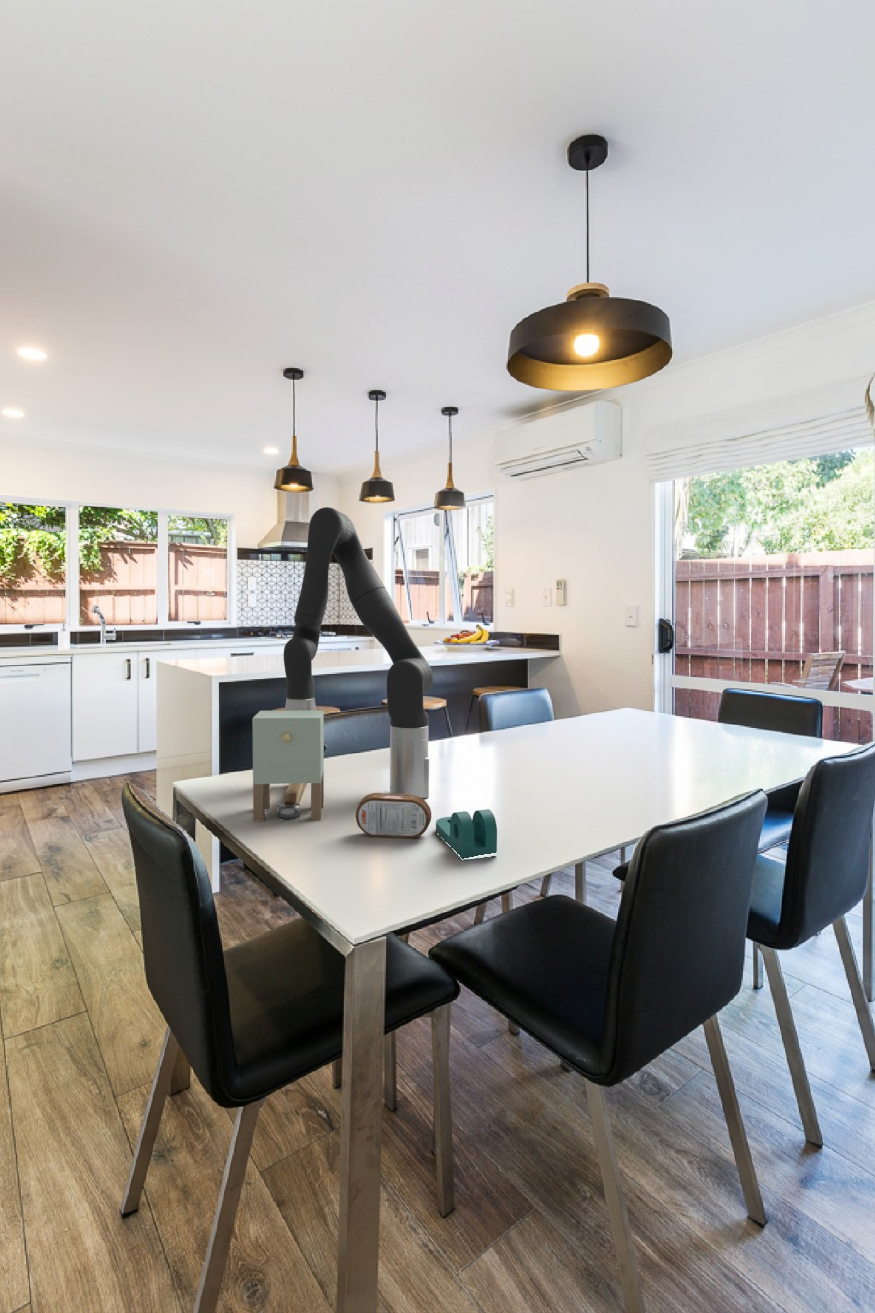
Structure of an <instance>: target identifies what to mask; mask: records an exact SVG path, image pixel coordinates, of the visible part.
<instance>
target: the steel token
mask: <svg viewBox="0 0 875 1313" xmlns="http://www.w3.org/2000/svg"><path fill="white" fill-rule="evenodd" d="M275 807H276V819H277V820H280V819H282V820H281V821H292V820H291V819H293V820H296V819H297V820H298V819H299V818H300V817H301V804H300V803H295V802H285V803H284V802H282V803H278V804H277V805H276V806H275Z"/></svg>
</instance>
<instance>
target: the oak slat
mask: <svg viewBox="0 0 875 1313" xmlns="http://www.w3.org/2000/svg"><path fill="white" fill-rule="evenodd" d="M306 788H307V784H306V783H292V784H288V786H287V788H286V790H285V793H284V794H283V803H285V802H295V803H299V804H300V802H301V800H302V797H303V795H304V792H305V790H306Z"/></svg>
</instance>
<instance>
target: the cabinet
mask: <svg viewBox="0 0 875 1313" xmlns="http://www.w3.org/2000/svg"><path fill="white" fill-rule="evenodd" d="M324 713H325V712H324V710H323V709H322V710H317V709H316V711H285V710H259V711H258V713H256V714H255V715H254V716H253V717H252V797H253V798H252V805H253V806H252V807H253V808H252V811H253V812H252V813H253V818H252V820H253V822H264V821H265V817H266V816H265V812H266V811H265V809H268V810H270V808H271V785H277V784H278V785H280V784H281V785H282V784H283V785H284V784H285V785H287V784H288V785H289V784H292V783H308V784H310V820H311V821H318V820H319V821H320V820H321V819H322V809H324V806H325V805H324V804H325V800H324V799H325V798H324V797H325V796H324V795H325V794H324V792H325V790H324V789H325V788H324V786H325V783H324V782H325V780H324V778H325V776H324V774H325V773H324V772H325V768H324V767H325V766H324V764H325V763H324V761H325V760H324V759H325V758H324V756H325V755H324V753H325V752H324V744H325V742H324V741H325V738H324V737H325V735H324V732H325V729H324V728H325V727H324V722H325V721H324V716H325V714H324Z"/></svg>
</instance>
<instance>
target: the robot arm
mask: <svg viewBox="0 0 875 1313" xmlns="http://www.w3.org/2000/svg"><path fill="white" fill-rule="evenodd" d="M307 535H308V536H307V547H306V555H305V564H304V570H303V571H304V572H303V578H302V582H301V583H302V584H301V589H300V593H299V597H298V600H297V605H296V608H295V613H294V618H293V619H294V620H293V621H294V624H295V625H294V630H293V634H292V638H290V639H289V640H288V641H287V642H286V643H285V645H284V649H283V665H284V672H285V677H286V678H285V679H286V687H285V688H286V689H285V692H286V695H285V696H286V697H285V699H286V701H285V710H284V711H317V706H316V705H317V704H316V698H315V694H316V693H315V692H316V686H315V685H316V684H315V683H316V682H315V679H314V676H313V674H312V673H313V671H312V670H313V669H312V664H313V663H312V661H313V660H314V658H315V657H316V655H317V651H318V648H319V644H320V636H321V626H322V624H323V621H324V617H325V613H326V610H327V604H328V600H329V571H330V562H331V557H332V555H333V557H334V558H335V559H336V561H337V563H338V564H339V566H340V568H341V571H342V574H343V577H344V582H345V587H346V592H347V595H348V598H349V602H350V603H351V605H352V607H353V610H354V611H355V613H356V615H357V617H358V619H359V621H360V622H361V623H362V624H363V626H364V627H365V629H366V630H367V631H368V632H369V633H370V634H371V635H372V636H373V637H374V638H375V639H376V640H377V641H378V642H379V643H380V645H381V646H382V647H383V648H384V649H385V651H386V653H387V654H388V656H389V658H390V660H391V662H392V665H390V668H389V669H388V671H387V676H386V705H387V706H386V709H387V713H388V716H389V719H390V724H389V725H390V726H389V727H390V730H389V731H390V732H389V735H390V737H389V739H390V740H389V741H390V742H389V744H390V745H389V794H404V795H415V796H418V797H420V798H422V799H426V798H429V796H430V794H429V793H430V792H429V791H430V758H429V721H430V720H429V714H428V713H427V712H426V710H425V708H424V694H425V693H426V692H428V691H430V689H431V687H432V685H433V682H434V675H433V673H434V672H433V670H432V667H431V665H430V664H429V663H428V661H427V660H426V658H425V656H424V655H423V654H422V652H421V651H420V649H419V647H418V646H417V644H416V643H415V642H414V640H413V639H412V636H411V634H410V633H409V632H408V630H407V627H406V625H405V624H404V621H403V619H402V617H401V615H400V613H399V612H398V610H397V608H396V606H395V603H394V602H393V599H392V598H391V595H390V594H389V592H388V590H387V588H386V587H385V584H384V582H383V580H381V578H380V576H379V574H378V573H377V571H376V569H375V567H374V566H373V564H372V562H371V561H370V560H369V558H368V556H367V555H366V552H365V550H364V548H363V545H362V542H361V540H360V537H359V535H358V533H357V530H356V527H355V525H354V523H353V522H352V520H351V519H350V518H349V516H348V515H346V514H344V513H342V512H341V511H339V510H337V509H335V508H333V507H329V506H326V507H321V508H319V509H317V510H316V511H315V512H314V513H313V514H312V516H311V517H310V521H309V525H308V534H307ZM327 747H328V744H327V743H324V753H325V752H326V749H327ZM306 784H309V783H306Z"/></svg>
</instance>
